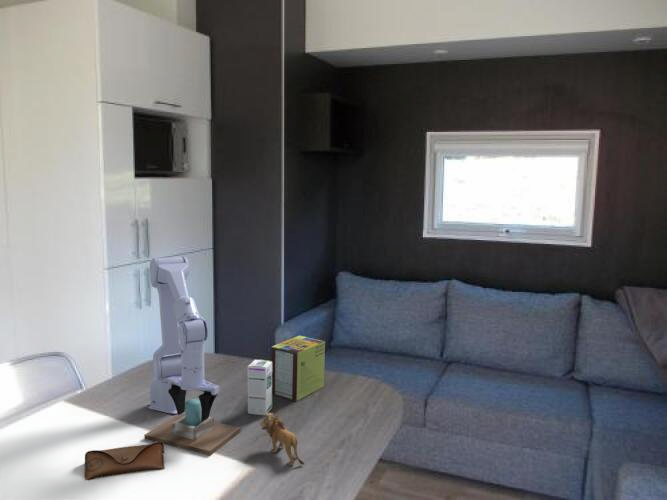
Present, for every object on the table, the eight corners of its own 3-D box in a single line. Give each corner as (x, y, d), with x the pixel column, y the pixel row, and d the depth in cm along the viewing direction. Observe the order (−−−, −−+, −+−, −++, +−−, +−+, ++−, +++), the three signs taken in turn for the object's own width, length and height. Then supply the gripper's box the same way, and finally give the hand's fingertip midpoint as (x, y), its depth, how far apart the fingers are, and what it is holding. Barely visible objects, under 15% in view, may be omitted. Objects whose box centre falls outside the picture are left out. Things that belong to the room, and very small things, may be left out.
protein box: (324, 386, 184) (325, 340, 182) (296, 402, 171) (297, 352, 169) (298, 379, 190) (299, 334, 188) (269, 394, 177) (270, 346, 175)
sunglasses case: (82, 481, 125) (82, 450, 127) (84, 482, 131) (84, 452, 133) (167, 468, 131) (165, 438, 134) (165, 470, 137) (163, 441, 140)
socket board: (144, 439, 145) (144, 423, 145) (178, 417, 158) (178, 403, 157) (210, 455, 138) (210, 439, 137) (240, 432, 151) (240, 417, 150)
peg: (182, 432, 147) (181, 403, 146) (192, 426, 150) (191, 397, 149) (194, 435, 145) (194, 406, 144) (204, 429, 149) (204, 400, 148)
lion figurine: (256, 448, 142) (257, 414, 141) (273, 441, 146) (273, 408, 145) (296, 470, 132) (296, 434, 131) (312, 462, 136) (313, 427, 135)
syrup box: (266, 416, 161) (267, 367, 159) (246, 413, 162) (247, 365, 160) (272, 408, 166) (273, 360, 164) (253, 405, 168) (254, 358, 166)
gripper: (159, 366, 144) (160, 416, 146) (207, 375, 139) (207, 427, 141) (177, 358, 151) (177, 406, 153) (223, 366, 145) (223, 416, 147)
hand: (193, 415), depth 147 cm, fingers open, 7 cm apart
